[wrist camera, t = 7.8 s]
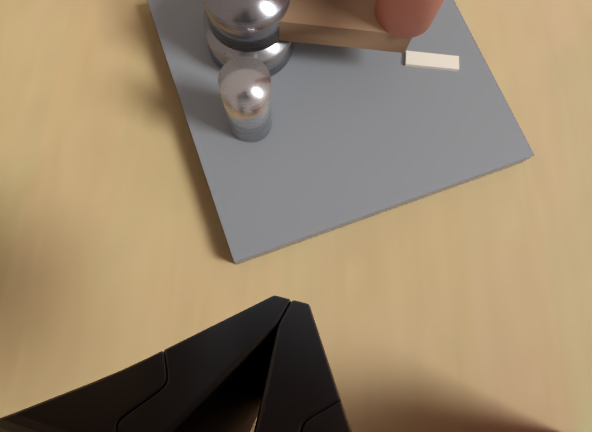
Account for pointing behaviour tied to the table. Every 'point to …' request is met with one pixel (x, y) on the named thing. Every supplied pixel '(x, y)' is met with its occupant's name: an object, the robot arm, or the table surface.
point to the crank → (320, 22)
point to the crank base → (333, 125)
